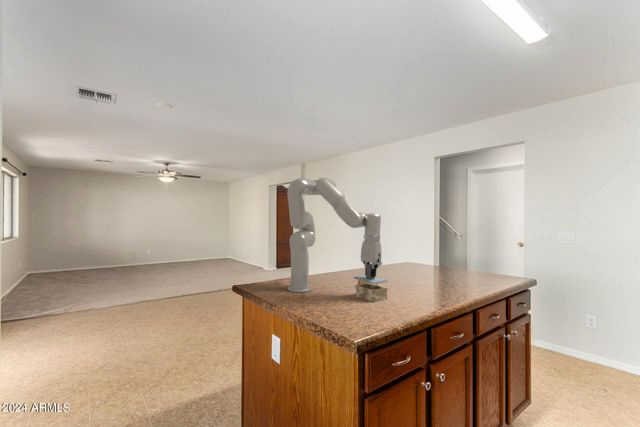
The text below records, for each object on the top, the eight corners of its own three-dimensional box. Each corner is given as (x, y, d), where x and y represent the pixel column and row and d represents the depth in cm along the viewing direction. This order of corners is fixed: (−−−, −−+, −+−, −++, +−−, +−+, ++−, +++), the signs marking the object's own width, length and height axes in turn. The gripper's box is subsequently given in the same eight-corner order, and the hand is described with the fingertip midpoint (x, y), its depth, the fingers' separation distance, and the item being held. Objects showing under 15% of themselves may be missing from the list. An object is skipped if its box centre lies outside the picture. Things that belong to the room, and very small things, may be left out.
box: (356, 297, 159) (356, 285, 159) (368, 294, 164) (369, 283, 164) (374, 303, 149) (374, 290, 149) (387, 300, 155) (387, 288, 155)
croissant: (382, 301, 166) (388, 287, 167) (367, 293, 163) (374, 279, 164) (362, 290, 186) (368, 277, 187) (349, 283, 183) (355, 270, 184)
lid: (353, 278, 159) (354, 263, 159) (367, 276, 165) (368, 261, 165) (373, 284, 149) (373, 267, 149) (387, 281, 155) (388, 265, 155)
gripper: (354, 237, 161) (353, 273, 161) (379, 240, 148) (377, 280, 148) (365, 236, 165) (363, 272, 166) (390, 240, 152) (388, 278, 153)
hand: (370, 275), depth 157 cm, fingers closed on lid, 3 cm apart
